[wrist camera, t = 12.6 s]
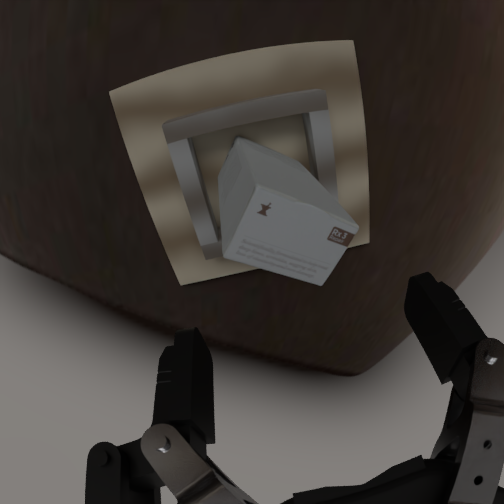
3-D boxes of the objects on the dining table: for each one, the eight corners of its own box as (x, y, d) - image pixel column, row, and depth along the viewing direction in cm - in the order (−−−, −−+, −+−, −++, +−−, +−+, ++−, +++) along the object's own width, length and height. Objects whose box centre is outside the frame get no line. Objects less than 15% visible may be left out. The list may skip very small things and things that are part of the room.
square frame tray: (112, 91, 20) (97, 94, 17) (348, 41, 19) (366, 37, 17) (181, 279, 31) (178, 301, 28) (365, 237, 31) (379, 256, 28)
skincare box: (216, 179, 25) (213, 264, 15) (236, 130, 23) (250, 182, 12) (281, 203, 26) (319, 294, 16) (304, 159, 24) (363, 228, 14)
